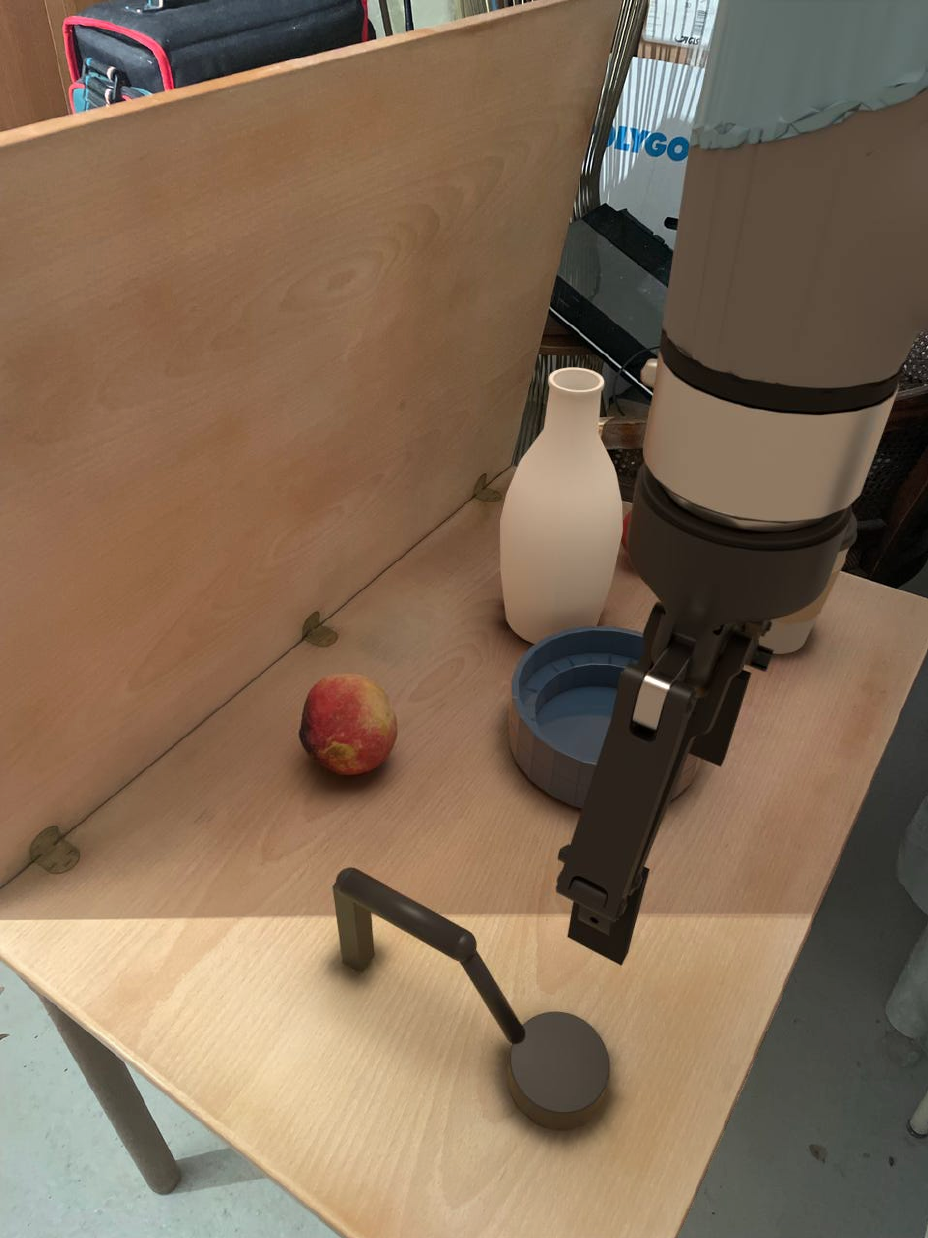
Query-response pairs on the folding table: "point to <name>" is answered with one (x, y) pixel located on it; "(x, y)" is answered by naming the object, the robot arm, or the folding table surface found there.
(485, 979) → the ladle
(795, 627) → the coffee cup
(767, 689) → the folding table surface
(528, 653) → the bowl
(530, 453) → the bottle
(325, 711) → the fruit
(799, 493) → the robot arm
